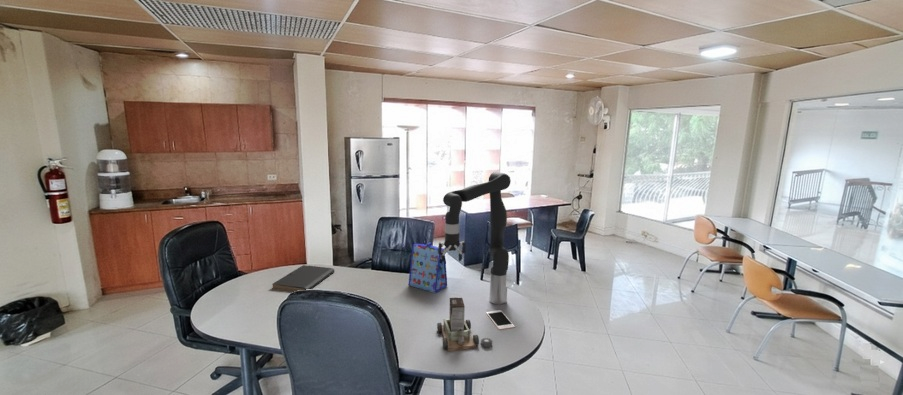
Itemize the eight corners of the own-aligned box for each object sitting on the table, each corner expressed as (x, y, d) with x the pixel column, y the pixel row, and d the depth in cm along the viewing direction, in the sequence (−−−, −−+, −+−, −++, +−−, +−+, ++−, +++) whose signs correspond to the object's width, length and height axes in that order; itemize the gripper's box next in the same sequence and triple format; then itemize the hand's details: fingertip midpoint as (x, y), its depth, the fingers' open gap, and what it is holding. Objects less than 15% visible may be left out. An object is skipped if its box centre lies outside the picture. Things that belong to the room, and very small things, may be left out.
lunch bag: (447, 286, 234) (448, 243, 229) (435, 294, 223) (435, 248, 218) (420, 278, 246) (420, 237, 241) (407, 285, 235) (407, 242, 229)
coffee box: (448, 327, 183) (449, 297, 180) (461, 327, 183) (462, 297, 181) (450, 337, 174) (451, 306, 171) (464, 337, 175) (464, 305, 172)
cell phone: (499, 330, 184) (499, 328, 184) (485, 313, 201) (485, 311, 201) (515, 328, 187) (515, 326, 187) (500, 311, 204) (500, 309, 204)
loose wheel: (489, 341, 174) (490, 337, 174) (493, 347, 169) (493, 343, 169) (479, 342, 173) (479, 338, 173) (482, 348, 168) (482, 344, 168)
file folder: (302, 264, 259) (334, 267, 254) (303, 270, 260) (334, 273, 255) (271, 283, 227) (307, 287, 222) (271, 289, 228) (307, 294, 223)
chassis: (468, 325, 188) (468, 315, 187) (479, 347, 169) (479, 336, 168) (436, 328, 185) (436, 318, 184) (444, 351, 166) (444, 340, 165)
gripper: (463, 228, 196) (463, 257, 199) (437, 230, 193) (437, 259, 196) (467, 232, 189) (466, 262, 192) (439, 234, 186) (439, 264, 189)
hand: (451, 261), depth 194 cm, fingers open, 8 cm apart
